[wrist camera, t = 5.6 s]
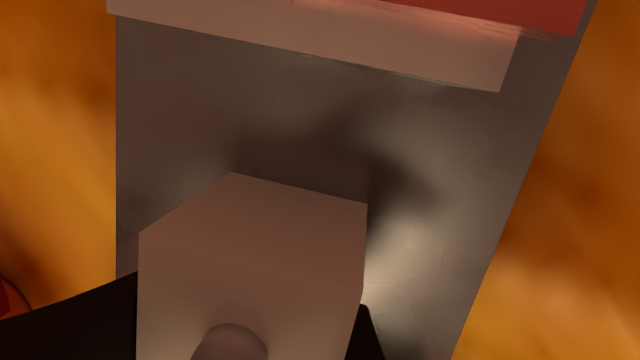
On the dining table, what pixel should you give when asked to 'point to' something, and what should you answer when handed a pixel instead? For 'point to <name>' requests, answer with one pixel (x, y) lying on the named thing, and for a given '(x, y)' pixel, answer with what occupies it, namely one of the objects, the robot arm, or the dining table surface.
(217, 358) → the block
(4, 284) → the paper cup
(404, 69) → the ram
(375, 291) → the press
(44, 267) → the dining table surface
